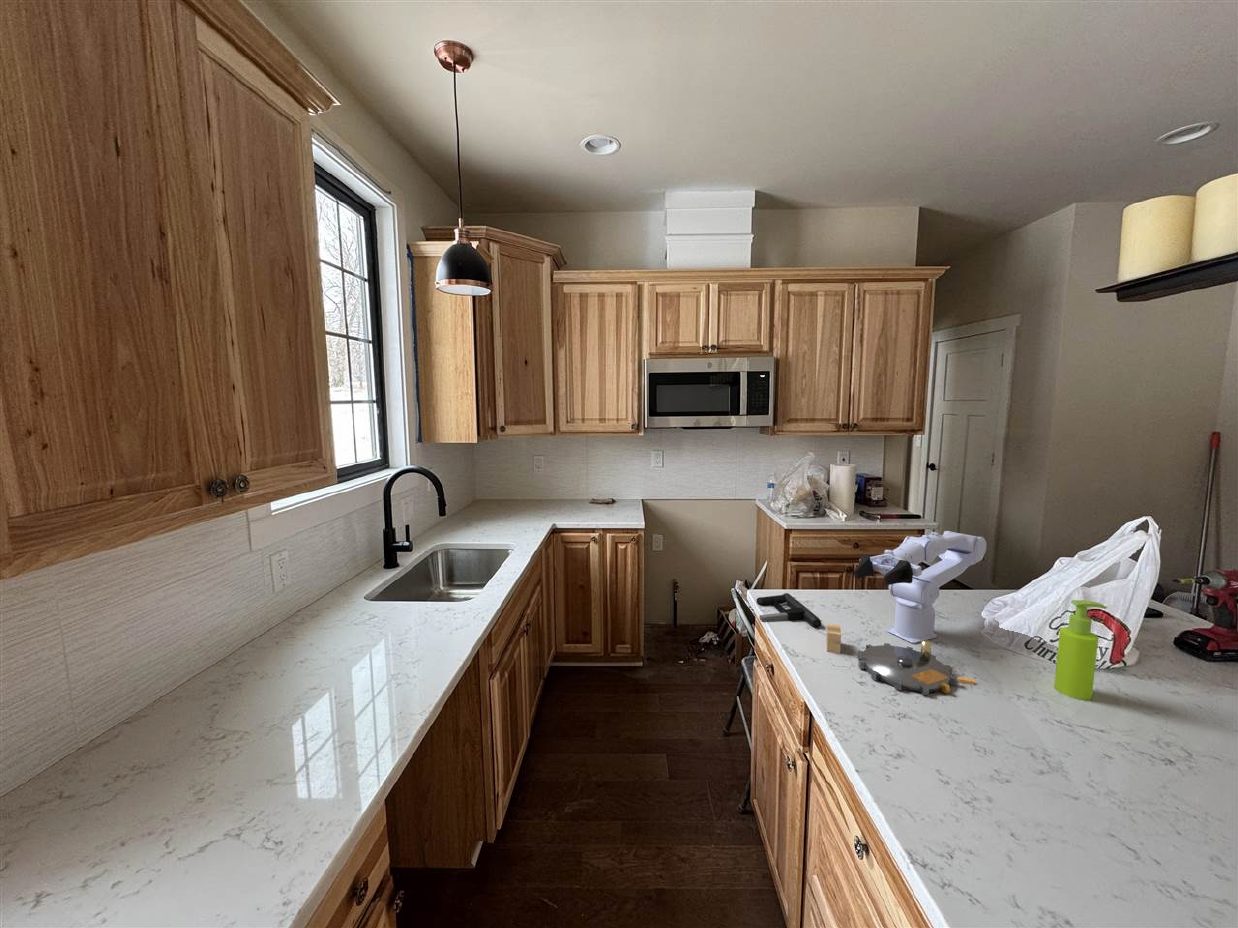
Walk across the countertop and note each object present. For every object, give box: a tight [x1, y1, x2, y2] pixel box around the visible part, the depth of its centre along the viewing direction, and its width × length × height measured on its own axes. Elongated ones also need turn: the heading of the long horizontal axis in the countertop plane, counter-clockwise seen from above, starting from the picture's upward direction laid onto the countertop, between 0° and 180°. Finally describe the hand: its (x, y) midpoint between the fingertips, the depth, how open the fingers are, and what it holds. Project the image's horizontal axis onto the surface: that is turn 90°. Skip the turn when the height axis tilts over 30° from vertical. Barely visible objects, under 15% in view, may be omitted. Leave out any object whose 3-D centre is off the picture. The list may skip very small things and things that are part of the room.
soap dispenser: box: [1053, 599, 1108, 701], centre depth 102 cm, size 6×7×20 cm
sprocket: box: [856, 639, 958, 696], centre depth 111 cm, size 20×20×6 cm
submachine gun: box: [755, 592, 823, 629], centre depth 143 cm, size 3×20×16 cm
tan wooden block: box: [826, 622, 842, 654], centre depth 123 cm, size 6×3×5 cm, turn 158°
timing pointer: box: [957, 676, 976, 685], centre depth 107 cm, size 3×1×1 cm, turn 68°
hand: (870, 577), depth 117 cm, fingers open, 7 cm apart
